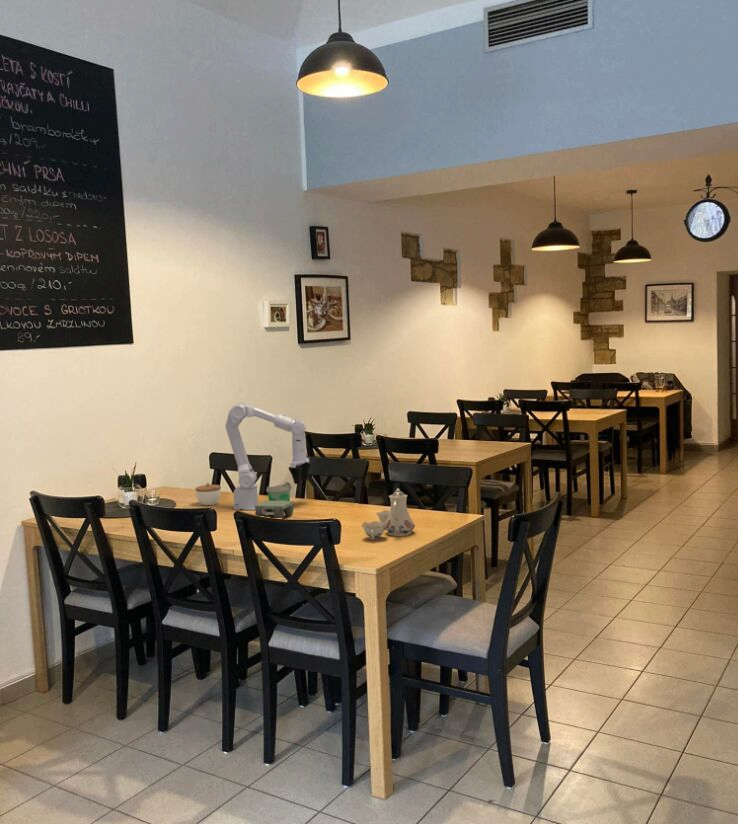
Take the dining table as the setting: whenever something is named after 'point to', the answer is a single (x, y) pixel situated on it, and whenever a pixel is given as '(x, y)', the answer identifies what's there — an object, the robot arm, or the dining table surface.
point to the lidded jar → (208, 494)
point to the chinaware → (391, 519)
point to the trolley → (274, 508)
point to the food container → (279, 492)
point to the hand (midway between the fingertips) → (300, 482)
